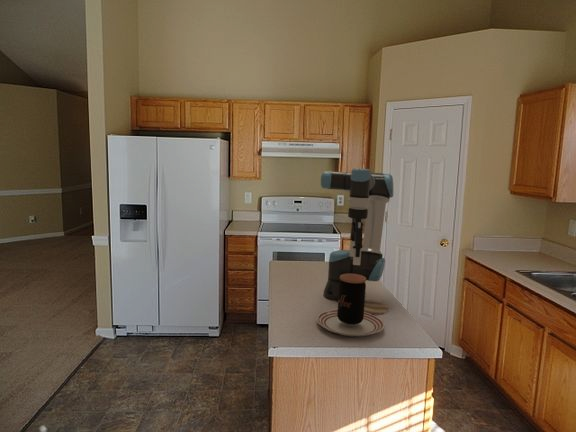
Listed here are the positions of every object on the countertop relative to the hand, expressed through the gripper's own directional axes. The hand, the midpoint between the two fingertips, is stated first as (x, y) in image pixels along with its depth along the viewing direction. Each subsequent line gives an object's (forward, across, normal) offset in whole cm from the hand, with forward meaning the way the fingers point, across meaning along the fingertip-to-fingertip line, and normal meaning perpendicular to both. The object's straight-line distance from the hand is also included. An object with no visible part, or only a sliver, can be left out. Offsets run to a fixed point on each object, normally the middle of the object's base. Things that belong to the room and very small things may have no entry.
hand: (354, 260), depth 161 cm
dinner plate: (+28, 0, 0) cm, 28 cm away
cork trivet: (+28, -23, +12) cm, 38 cm away
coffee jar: (+25, 0, 0) cm, 25 cm away
